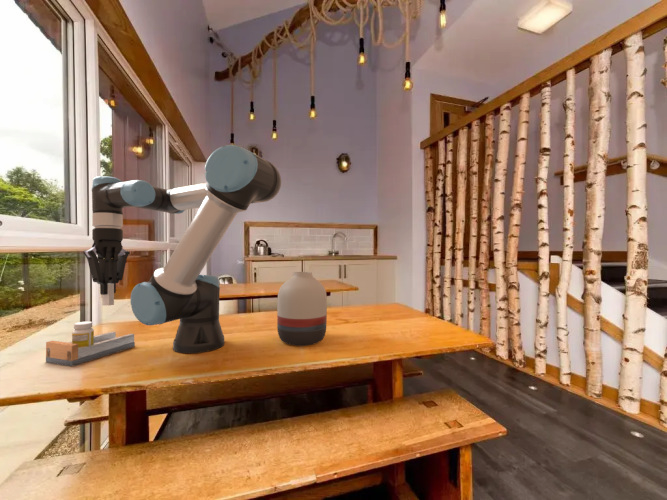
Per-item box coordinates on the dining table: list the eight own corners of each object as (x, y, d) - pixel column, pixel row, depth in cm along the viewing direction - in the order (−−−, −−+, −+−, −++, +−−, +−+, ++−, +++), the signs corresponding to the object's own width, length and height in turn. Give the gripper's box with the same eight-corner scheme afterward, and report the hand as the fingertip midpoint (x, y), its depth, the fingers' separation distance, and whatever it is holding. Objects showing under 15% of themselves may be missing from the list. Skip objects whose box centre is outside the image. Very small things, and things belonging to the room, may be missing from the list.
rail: (134, 346, 97) (134, 329, 97) (71, 366, 80) (71, 345, 80) (111, 343, 100) (111, 326, 100) (45, 362, 83) (46, 342, 83)
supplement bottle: (84, 349, 89) (85, 320, 89) (97, 350, 88) (98, 321, 88) (67, 354, 84) (68, 324, 85) (80, 355, 83) (81, 325, 84)
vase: (315, 351, 94) (316, 274, 94) (267, 345, 99) (268, 273, 100) (333, 336, 110) (333, 271, 110) (291, 332, 115) (291, 270, 116)
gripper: (118, 230, 101) (118, 301, 100) (75, 226, 88) (76, 308, 88) (136, 229, 99) (136, 302, 98) (95, 225, 86) (95, 309, 86)
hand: (108, 304), depth 93 cm, fingers closed
